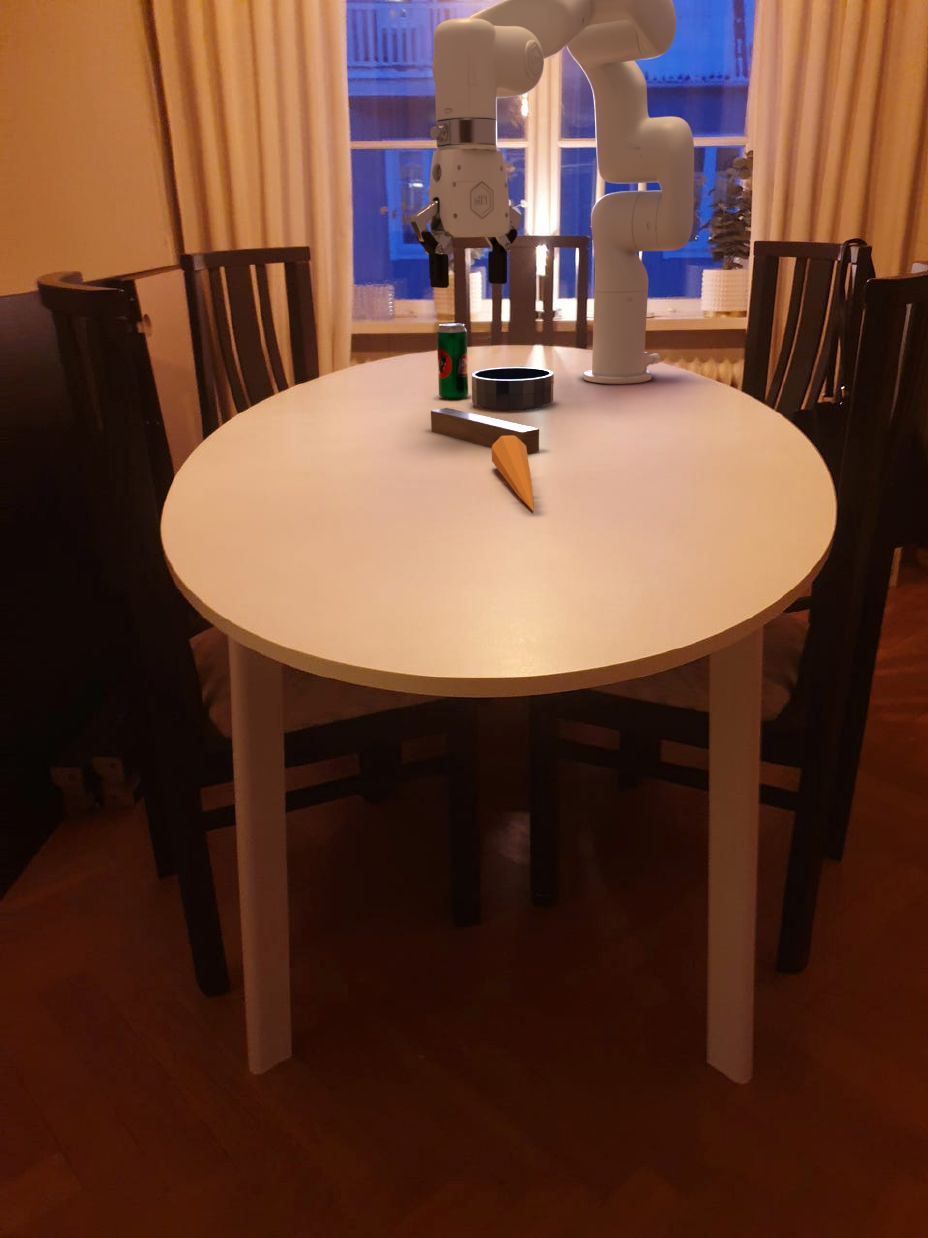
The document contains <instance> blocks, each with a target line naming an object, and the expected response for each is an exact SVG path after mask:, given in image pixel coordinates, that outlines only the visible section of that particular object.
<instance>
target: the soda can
mask: <svg viewBox="0 0 928 1238" xmlns="http://www.w3.org/2000/svg"><path fill="white" fill-rule="evenodd" d="M465 325H466V324H464V323H458V322H456V323H455V322H454V323H453V322H452V323H451V322H450V323H441V324H438V329H437V331H436V347H437V349H436V351H437V352H436V353H437V374H438V377H437V378H438V379H437V380H438V396H439V397H440V399H442V400H448V401H457V400H463V399H466V398H467V397H468V395H469V364H468V363H469V362H468V358H469V357H468V330H467V328H466V327H465Z"/></svg>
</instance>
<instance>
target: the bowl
mask: <svg viewBox="0 0 928 1238" xmlns="http://www.w3.org/2000/svg"><path fill="white" fill-rule="evenodd" d="M527 367H528V366H514V367H511V366H510V367H494V368H493V367H492V368H486V369H481V370H476V371H474V372H472V373H471V402H472V404H473V405H475V406H478V407H480V408H481V409H484V410H490V411H497V412H521V411H523V412H524V411H532V410H538V409H541V408H543V407H545V406H547V405H549V404H552V403H553V402H554V387H555V385H554V383H555V382H554V381H555V380H554V377H555V376H554V375H555V373H554V372H553V371H551V370H549V369H545V368H540V367H529V368H527Z"/></svg>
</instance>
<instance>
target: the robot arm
mask: <svg viewBox="0 0 928 1238" xmlns="http://www.w3.org/2000/svg"><path fill="white" fill-rule="evenodd" d="M676 33H677V14H676V9H675V5H674V2H673V0H501V1H500V2H497V3H495V4H493V5H490V6H489V7H486V8H484V9H482V10H480V11H478V12H476V13H474V14H472V15H469V16H468V17H457V18H451V19H446V20H444V21H442V22H440V23H439V24H438V25H437V26H436V28H435V30H434V35H433V57H432V66H431V68H432V78H433V81H434V93H435V94H434V95H435V98H434V99H435V126H431V127H430V130H429V136H430V138H431V139H434V140H436V150H434V151H433V154H432V158H431V165H430V174H429V187H428V188H429V189H428V192H429V193H428V204H426V205H425V206H423V207H421V209H419V210H418V211H417V212H415V213H413V214H412V215H411V216H410V218H409V222H410V224H411V227H412V229H413V231H414V233H415V235H416V236H415V237H416V240H417V242H418V243H419V245H421V247H423V251H424V253H425V254H426V255H428V270H429V271H428V272H429V276H428V277H429V281H430V283H429V284H430V288H436V289H448V288H449V285H450V269H449V268H450V267H449V266H450V265H449V264H450V263H449V255H448V253H445V251H446V250H447V247H448V246H449V244H450V242H451V241H452V239H453V238H484V239H485V240H486V242H487V243H488V245H489V247H490V249H491V250H492V251H488V253H487V266H488V267H487V274H488V275H487V277H488V283H489V284H495V285H496V284H497V285H498V284H499V285H505V284H507V283H508V252H510V251H511V250H512V248H513V247H512V245H513V243H514V242H515V240H516V239H517V237H518V231H519V229H520V227H521V224H522V220H523V215H522V214H521V213H519V212H518V211H517V210H516V209H514V208H513V207H511V206H510V196H509V195H510V194H509V184H508V175H507V168H506V163H505V162H506V161H505V158H504V157H505V156H504V154H503V150H498V99H503V98H505V99H506V98H514V97H519V96H524V95H526V94H528V93H529V92H531V91H533V89H535V88H536V87H537V85H538V84H539V83H540V81H541V78H542V76H543V73H544V68H545V59H547V58H551V57H553V56H555V55H557V54H558V53H560V52H561V51H563V50H564V49H565V48H566V49H567V51H568V53H569V55H570V56H571V57H572V58H573V60H574V61H575V62H576V63H577V64H578V65H579V67H580V68H581V70H582V72H583V74H584V75H585V76H586V78H587V81H588V83H589V85H590V89H591V92H592V96H593V105H594V107H593V108H594V123H595V124H594V127H595V144H596V145H595V146H596V147H595V150H596V164H597V169H598V174H599V176H600V178H601V179H602V180H603V181H604V182H606V183H610V184H616V185H618V184H619V185H620V184H621V185H622V184H623V185H624V184H648V183H649V184H650V183H658V185H659V188H660V190H659V189H658V190H655V189H654V190H626V191H625V190H624V191H616V192H610V193H607V194H605V195H603V196H601V197H600V198H599V199H598V200H597V201H596V202H595V204H594V205H593V207H592V210H591V214H590V229H591V230H590V231H591V237H592V244H593V254H594V255H593V256H594V290H593V291H594V293H593V295H594V296H593V300H594V301H593V324H592V325H593V326H592V327H593V328H592V356H591V357H592V358H591V369H587V370H585V371H584V372H583V374H582V375H583V377H582V378H583V379H584V380H585V381H587V382H590V383H597V384H606V385H607V384H610V385H625V384H626V385H627V384H638V383H639V384H640V383H644V382H648V381H650V380H652V377H653V372H652V371H650V370H648V367H649V366H651V365H652V366H653V365H657V364H660V362H661V355H660V354H659V353H657V352H656V353H650V354H649V352H648V351H646V334H647V333H646V332H647V319H648V317H647V316H648V315H647V313H648V298H649V275H648V272H647V268H646V267H645V265H644V263H643V262H642V260H641V258H640V257H639V255H638V252H669V251H677V250H680V249H681V250H682V249H683V248H684V247H685V246H686V245H687V244H688V243H689V241H690V239H691V236H692V234H693V228H694V215H695V214H694V211H695V203H694V202H695V143H694V137H693V132H692V129H691V127H690V125H689V123H688V122H687V121H686V120H685V119H684V118H682V117H678V116H658V117H657V116H656V117H650V116H649V112H648V87H647V86H648V85H647V82H646V78H645V75H644V73H643V72H642V70H641V68H640V66H639V64H638V63H637V62H636V61H643V60H652V59H657V58H659V57H661V56H663V55H665V54H666V53H667V52H668V50H669V49H670V48H671V47H672V45H673V42H674V39H675V36H676ZM428 222H429V228H430V231H429V229H428V224H427V223H428Z"/></svg>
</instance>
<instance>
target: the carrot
mask: <svg viewBox="0 0 928 1238" xmlns="http://www.w3.org/2000/svg"><path fill="white" fill-rule="evenodd" d="M528 455H529V454H527V448H526V445H525V444H524V443H523V442H522V441H521V440H519V439H518V438H517V437H516V436H514V435H511V436H501V437H500V438H499V439H498V440H497V441H496V442H495V443H494V444H493V446H492V447H491V462H492V463H493V465H494V466H495V468H496V469H497V470H498V471H499V473H500V474H501V476H502V477H503V478H504V479H505V481H506V482H507V483H508V485H509V486H510V488H511V489H512V490H513V491H514V493H515V494H516V495H517V496H518V498H519V499H521V500H522V501H523V502H524V504H526V506H528V507H529V509H530V510H532V511H534V495H533V494H534V493H533V491H534V490H533V482H532V475H531V469H530V462H529V456H528Z"/></svg>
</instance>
